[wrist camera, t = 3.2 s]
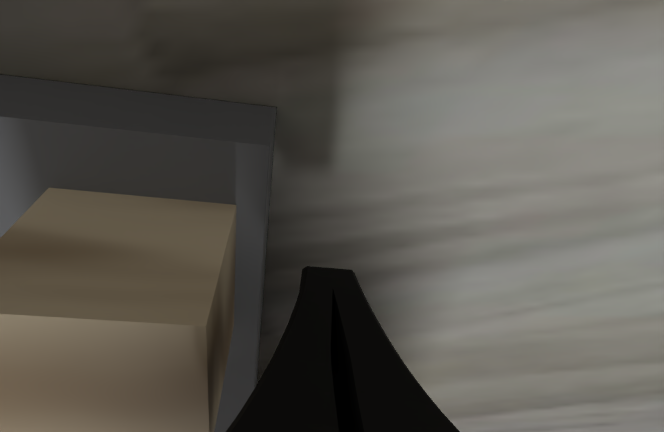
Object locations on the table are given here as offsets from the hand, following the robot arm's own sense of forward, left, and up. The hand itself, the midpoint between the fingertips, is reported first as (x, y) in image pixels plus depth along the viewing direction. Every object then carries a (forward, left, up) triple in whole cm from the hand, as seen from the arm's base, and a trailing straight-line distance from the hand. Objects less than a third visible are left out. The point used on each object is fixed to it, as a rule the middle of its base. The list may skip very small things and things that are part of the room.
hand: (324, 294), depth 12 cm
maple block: (0, +5, -1) cm, 5 cm away
